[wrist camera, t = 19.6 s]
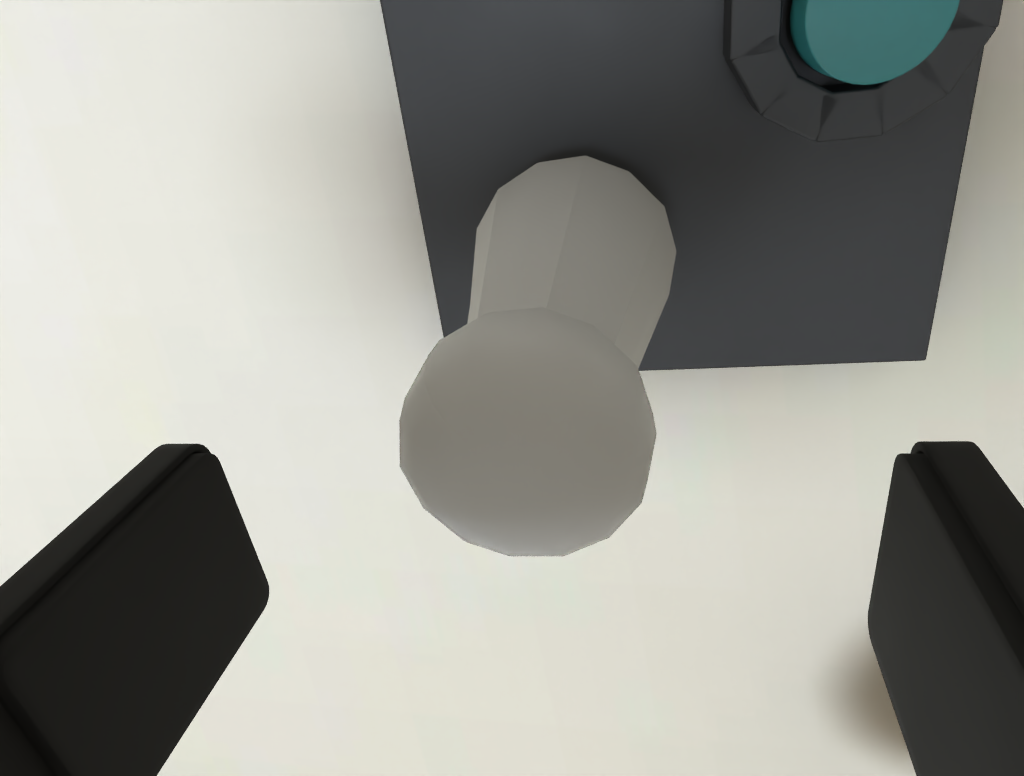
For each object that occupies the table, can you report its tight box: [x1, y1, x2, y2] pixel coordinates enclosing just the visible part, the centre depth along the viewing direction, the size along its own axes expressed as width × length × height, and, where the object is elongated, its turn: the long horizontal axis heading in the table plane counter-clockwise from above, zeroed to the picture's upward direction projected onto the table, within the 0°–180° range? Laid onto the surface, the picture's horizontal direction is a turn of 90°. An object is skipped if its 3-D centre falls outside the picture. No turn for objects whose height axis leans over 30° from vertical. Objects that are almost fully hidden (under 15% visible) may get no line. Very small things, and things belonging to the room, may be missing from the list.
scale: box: [380, 0, 1003, 371], centre depth 20 cm, size 16×14×4 cm
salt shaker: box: [400, 156, 676, 556], centre depth 16 cm, size 6×6×13 cm
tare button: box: [790, 0, 960, 85], centre depth 16 cm, size 3×3×2 cm
